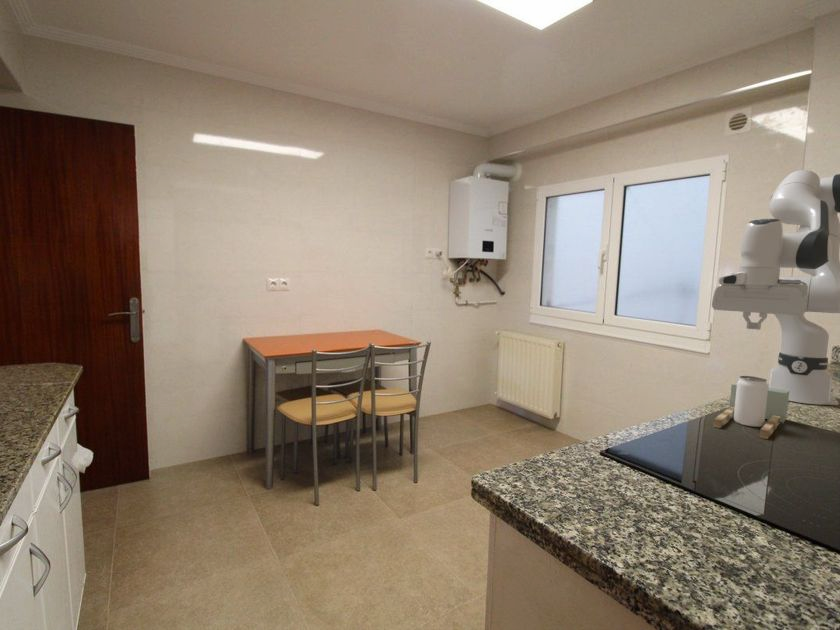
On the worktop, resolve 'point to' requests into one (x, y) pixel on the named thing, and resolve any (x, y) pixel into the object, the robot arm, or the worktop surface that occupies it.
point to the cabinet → (770, 402)
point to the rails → (764, 431)
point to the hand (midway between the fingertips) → (753, 329)
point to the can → (751, 401)
